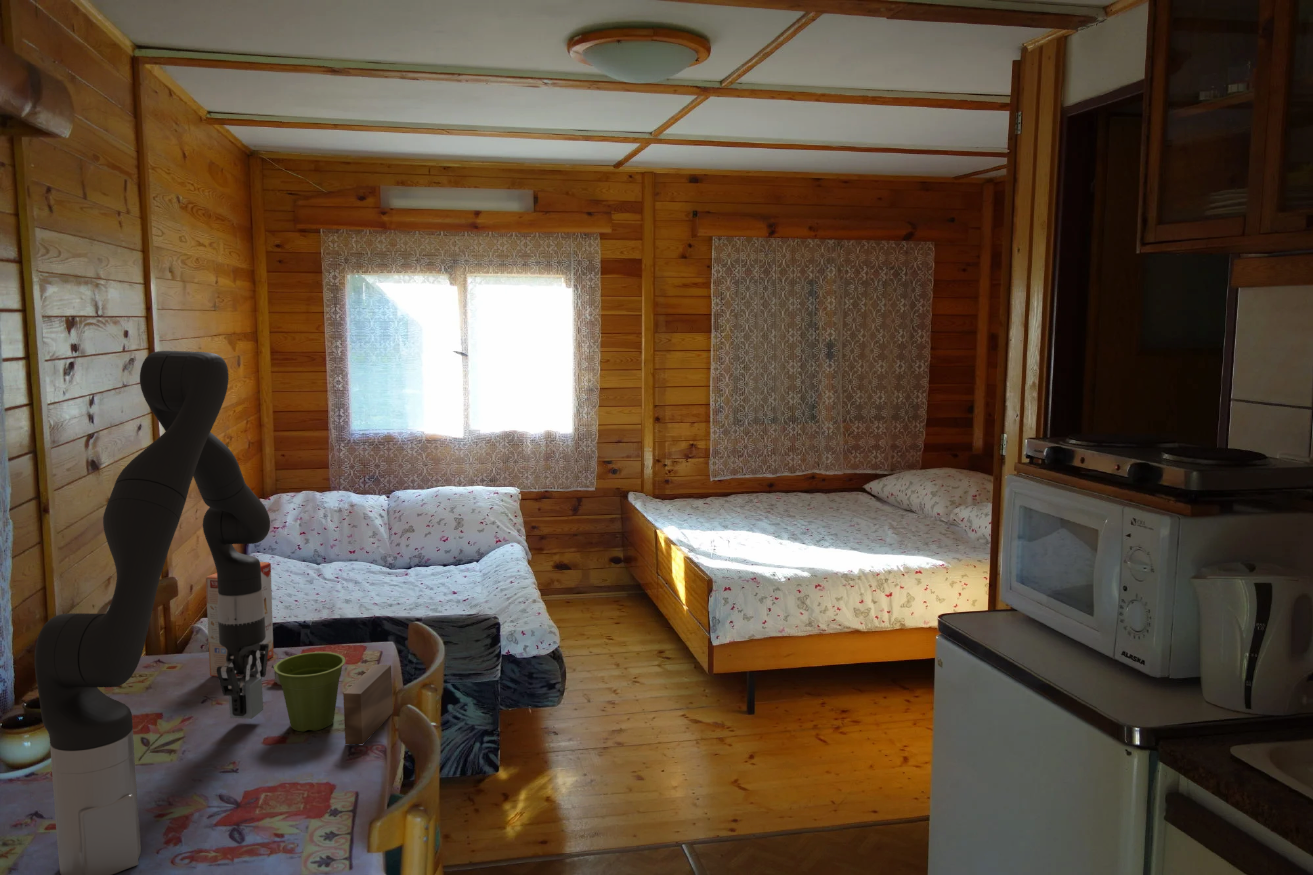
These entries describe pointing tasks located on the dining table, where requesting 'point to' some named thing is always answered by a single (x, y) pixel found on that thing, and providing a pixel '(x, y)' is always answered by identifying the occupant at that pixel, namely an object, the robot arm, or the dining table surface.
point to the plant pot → (310, 688)
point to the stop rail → (367, 704)
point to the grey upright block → (251, 698)
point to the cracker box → (215, 649)
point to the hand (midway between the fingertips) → (246, 709)
